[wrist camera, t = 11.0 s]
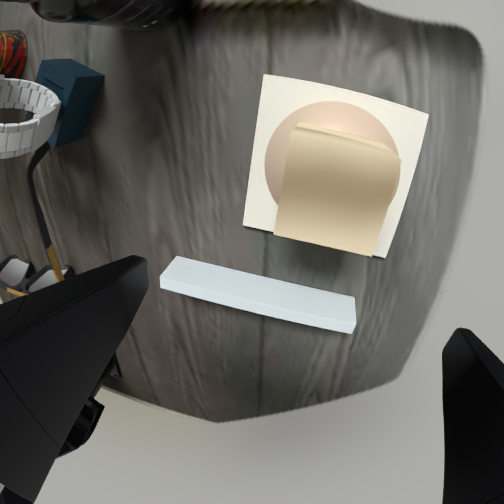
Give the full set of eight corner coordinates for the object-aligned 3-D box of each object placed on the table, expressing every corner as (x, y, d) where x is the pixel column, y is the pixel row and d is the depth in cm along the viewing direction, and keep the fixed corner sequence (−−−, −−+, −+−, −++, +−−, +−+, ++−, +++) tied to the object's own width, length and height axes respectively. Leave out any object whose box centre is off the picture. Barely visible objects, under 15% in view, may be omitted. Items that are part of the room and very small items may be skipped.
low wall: (350, 307, 23) (351, 334, 20) (176, 266, 24) (160, 287, 22) (354, 297, 22) (356, 323, 20) (176, 255, 24) (159, 276, 21)
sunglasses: (52, 137, 22) (10, 152, 17) (86, 282, 29) (58, 311, 25) (-15, 155, 24) (-46, 169, 20) (16, 266, 32) (-9, 287, 27)
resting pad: (384, 255, 20) (385, 258, 20) (244, 222, 21) (242, 225, 21) (426, 114, 15) (429, 114, 15) (265, 74, 16) (263, 74, 16)
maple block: (361, 217, 19) (371, 256, 14) (285, 200, 19) (273, 234, 15) (381, 141, 16) (401, 159, 12) (299, 122, 17) (290, 132, 13)
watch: (56, 52, 17) (-56, 68, 8) (120, 84, 18) (-9, 105, 9) (37, 110, 20) (-65, 146, 11) (95, 149, 21) (-18, 202, 11)
